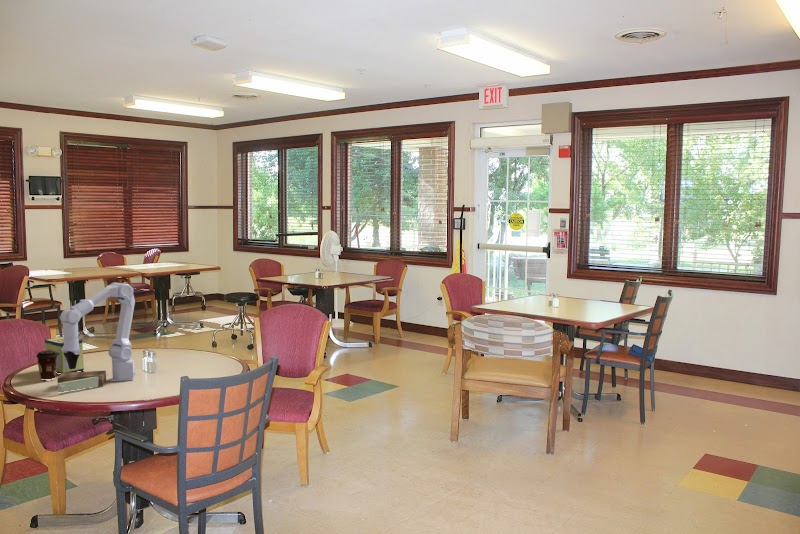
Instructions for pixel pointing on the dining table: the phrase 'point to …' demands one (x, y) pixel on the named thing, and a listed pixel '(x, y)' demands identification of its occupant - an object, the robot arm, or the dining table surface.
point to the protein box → (62, 363)
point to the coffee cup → (47, 364)
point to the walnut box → (82, 376)
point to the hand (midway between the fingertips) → (72, 368)
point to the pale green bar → (78, 384)
